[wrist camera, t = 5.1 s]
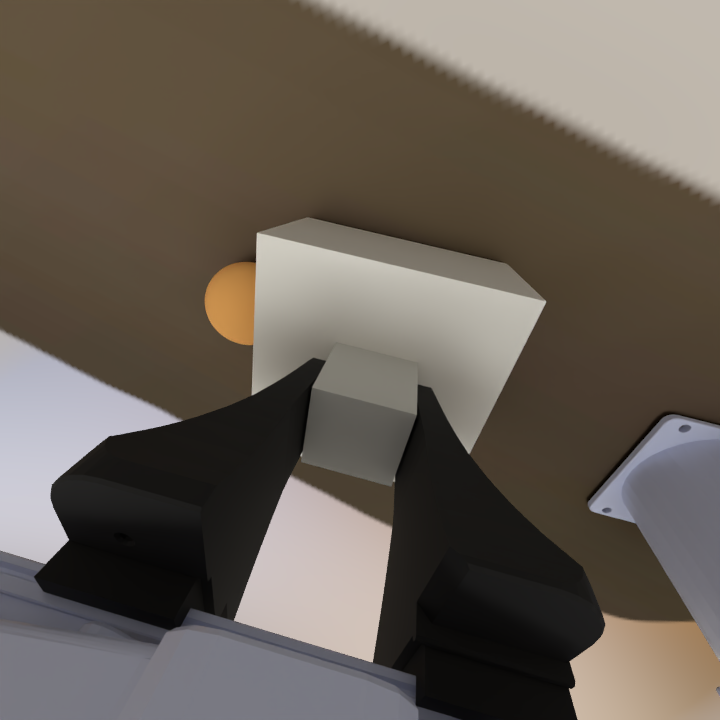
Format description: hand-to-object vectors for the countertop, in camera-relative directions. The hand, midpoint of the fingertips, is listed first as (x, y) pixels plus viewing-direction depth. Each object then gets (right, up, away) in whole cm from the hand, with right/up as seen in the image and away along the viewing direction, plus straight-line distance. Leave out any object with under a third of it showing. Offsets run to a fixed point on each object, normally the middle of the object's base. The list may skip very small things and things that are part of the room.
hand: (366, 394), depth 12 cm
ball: (-6, +4, +4) cm, 8 cm away
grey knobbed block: (+1, +3, +5) cm, 6 cm away
